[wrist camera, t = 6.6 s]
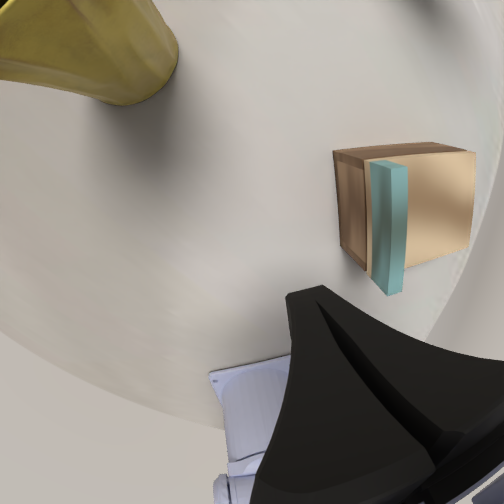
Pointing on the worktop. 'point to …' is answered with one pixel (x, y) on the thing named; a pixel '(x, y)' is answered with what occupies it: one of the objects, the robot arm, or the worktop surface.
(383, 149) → the box
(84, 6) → the vase
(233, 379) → the robot arm
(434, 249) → the tan panel teal strip
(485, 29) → the worktop surface
